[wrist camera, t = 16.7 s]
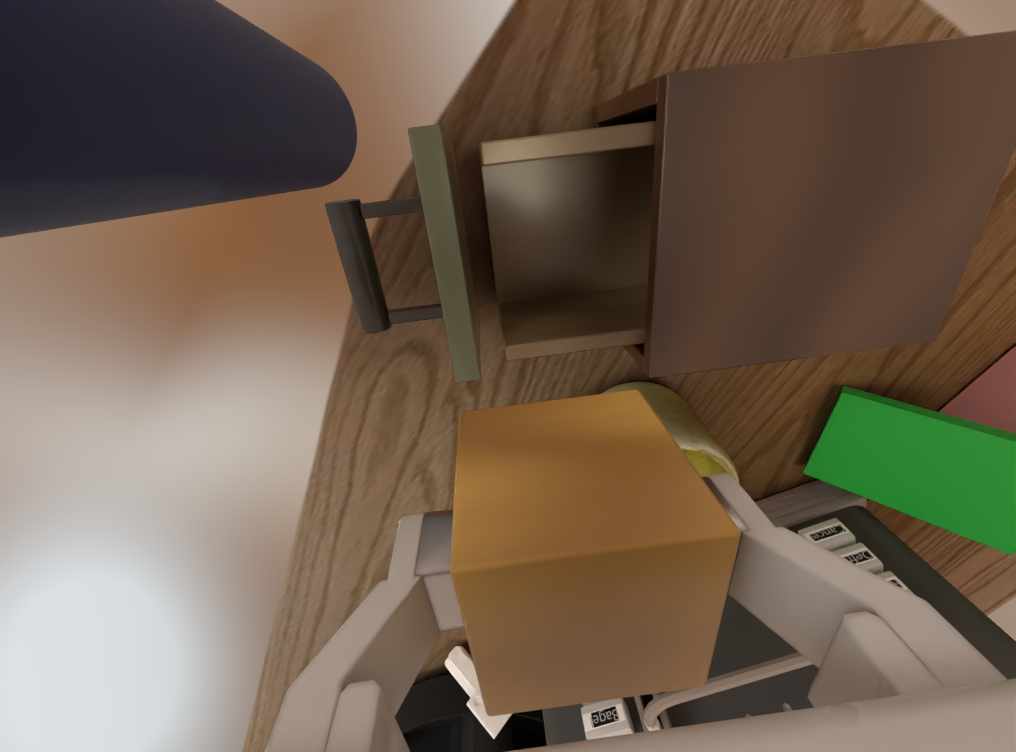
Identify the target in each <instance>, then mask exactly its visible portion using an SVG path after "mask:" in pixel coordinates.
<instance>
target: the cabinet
mask: <svg viewBox="0 0 1016 752" xmlns="http://www.w3.org/2000/svg"><path fill="white" fill-rule="evenodd" d="M650 121H656V135H655V154H654V174H653V193H652V212H651V232H650V251H649V270H648V290H647V309H646V329H645V343H641V344H633V345H626V346H624V348H625V349H626V350H627V351H628V353H629V354H630V355H631V356H632V358H633V359H634V360H635V361H636V363H637V364H638V365H639V366H640V367H641V369H642V370H643V371H644V373H645V374H646V375H647V376H648V378H657V377H664V376H672V375H680V374H687V373H695V372H703V371H710V370H718V369H725V368H733V367H741V366H748V365H756V364H764V363H771V362H779V361H787V360H794V359H802V358H810V357H817V356H825V355H833V354H840V353H848V352H855V351H863V350H871V349H878V348H886V347H894V346H901V345H909V344H917V343H924V342H932V341H936V339H937V337H938V334H939V332H940V329H941V327H942V324H943V322H944V320H945V317H946V315H947V312H948V310H949V307H950V305H951V303H952V300H953V298H954V295H955V293H956V290H957V288H958V286H959V283H960V281H961V278H962V276H963V273H964V271H965V269H966V266H967V264H968V261H969V259H970V256H971V254H972V252H973V249H974V247H975V244H976V242H977V239H978V237H979V235H980V232H981V230H982V227H983V225H984V222H985V220H986V218H987V215H988V213H989V210H990V208H991V205H992V203H993V201H994V198H995V196H996V193H997V191H998V188H999V186H1000V184H1001V181H1002V179H1003V176H1004V174H1005V171H1006V169H1007V167H1008V164H1009V162H1010V159H1011V157H1012V154H1013V152H1014V150H1015V147H1016V30H1015V31H1007V32H999V33H991V34H982V35H974V36H965V37H957V38H949V39H941V40H932V41H924V42H916V43H908V44H899V45H891V46H883V47H875V48H866V49H858V50H850V51H841V52H833V53H825V54H817V55H808V56H800V57H792V58H784V59H775V60H767V61H759V62H750V63H742V64H734V65H726V66H717V67H709V68H701V69H693V70H684V71H676V72H668V73H666V74H664V75H662V76H660V77H657V78H655V79H653V80H651V81H649V82H646V83H644V84H642V85H640V86H638V87H636V88H634V89H631V90H629V91H627V92H625V93H623V94H621V95H619V96H617V97H614V98H612V99H610V100H608V101H606V102H604V103H602V104H600V105H598V106H595V107H594V108H593V127H594V128H601V127H609V126H618V125H626V124H634V123H642V122H650Z"/></svg>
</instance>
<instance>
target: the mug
mask: <svg viewBox="0 0 1016 752" xmlns="http://www.w3.org/2000/svg"><path fill="white" fill-rule="evenodd" d="M628 390H639V392H640V393H641V394H642V396H643V397H644V399H645V400H646V401H647V403H648V404H649V405H650V407H651V408H652V410H653V411H654V412H655V414H656V415H657V417H658V418H659V419H660V421H661V422H662V423H663V425H664V426H665V428H666V429H667V430H668V432H669V433H670V434H671V436H672V437H673V439H674V440H675V441H676V443H677V444H678V446H679V447H680V448H681V450H682V451H683V452H684V454H685V455H686V457H687V458H688V459H689V461H690V462H691V463H692V465H693V466H694V468H695V469H696V470H697V472H698V473H699V475H700V476H706V475H713V474H720V473H729V474H730V475H732V476H733V477H734V479H735V480H736V481H737V482H738V483H739V477H738V472H737V470H736V468H735V466H734V464H733V462H732V460H731V459H730V457H729V456H728V454H727V453H726V451H725V450H724V449H723V447H722V446H721V445H720V444H719V442H718V441H717V440H716V439H715V438H714V436H713V435H712V434H711V433H710V432H709V431H708V429H707V428H706V427H705V426H704V424H703V423H702V422H701V421H700V420H699V418H698V417H697V416H696V415H695V413H694V411H693V410H692V408H691V407H690V405H689V404H688V403H687V402H686V401H685V400H684V399H683V398H682V397H680V396H679V395H678V394H677V393H675V392H674V391H672V390H670V389H669V388H666V387H664V386H662V385H658V384H655V383H651V382H640V381H639V382H630V383H624V384H620V385H617V386H614V387H611V388H609V389H608V390H606V391H605V392H603V393H601V394H605V393H613V392H621V391H628Z"/></svg>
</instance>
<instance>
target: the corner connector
mask: <svg viewBox="0 0 1016 752" xmlns="http://www.w3.org/2000/svg"><path fill="white" fill-rule="evenodd" d="M445 666H446V668H447V669H448V670H449V672H450V673H451V674H452V675H453V677H454V678H455V679H456V680H457V682H458V683H459V684H460V685H461V687H462V688H463V689H464V690H465V692H466V693H467V694H468V695H469V697H470V699H469V701H468V702H467V706H468V707H469V709H470V710H471V711H472V712H473V714H474V715H475V716H476V718H477V719H478V720H479V721H480V723H481V724H482V725H483V726H484V728H485V729H486V730H487V731H488V733H489V734H490V735H491V737H492V738H493V739H495V737H496V736H497V734H498V733H499V731H500V730H501V729H502V727H503V726H504V724H505V723H506V722H507V720H508V719H509V717H510V716H511V715H512V714H505V715H498V716H488V715H487V713H486V710H485V706H484V702H483V698H482V694H481V691H480V687H479V683H478V679H477V675H476V671H475V667H474V663H473V659H472V657H471V656H470V655H469V654H468V652H467V651H466V650H465V649H464V648H463V647H462V646H456V647H454V649H453V650H452V651H451V652H450V653H449V655H448V658H447V659H446V661H445Z"/></svg>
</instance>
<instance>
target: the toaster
mask: <svg viewBox="0 0 1016 752" xmlns="http://www.w3.org/2000/svg"><path fill="white" fill-rule="evenodd" d="M755 503H756V505H757V506H758V507H759V508H760V509H761V511H762V512H763V513H764V514H765V515H766V516H767V518H768V519H769V520H770V521H771V522H772V524H773V525H774V526H775V527H784V528H786V529H788V530H790V531H792V532H794V533H796V534H798V535H800V536H802V537H804V538H805V539H807V540H809V541H811V542H813V543H815V544H817V545H819V546H821V547H823V548H825V549H827V550H829V551H831V552H833V553H834V554H836V555H838V556H840V557H842V558H844V559H846V560H848V561H850V562H852V563H854V564H856V565H858V566H860V567H862V568H863V569H865V570H867V571H869V572H871V573H873V574H875V575H877V576H879V577H881V578H883V579H885V580H887V581H889V582H890V583H892V584H894V585H896V586H898V587H900V588H902V589H904V590H906V591H908V592H910V593H912V594H914V595H916V596H918V597H919V598H921V599H923V600H925V601H927V602H928V603H929V604H930V605H931V606H932V607H933V608H934V609H935V610H936V611H937V612H938V613H939V614H940V615H941V616H942V617H943V618H944V619H945V620H946V621H947V622H949V623H950V624H951V625H952V626H953V627H954V628H955V629H956V630H957V631H958V632H959V633H960V634H961V635H962V636H963V637H964V638H965V639H966V640H967V641H968V642H969V643H970V644H971V645H972V646H973V647H974V648H975V649H976V650H977V651H978V652H979V653H981V654H982V655H983V656H984V657H985V658H986V659H987V660H988V661H989V662H990V663H991V664H992V665H993V666H994V667H995V668H996V669H997V670H998V671H999V672H1000V673H1001V674H1002V675H1003V676H1004V677H1005V678H1006V679H1007V680H1009V679H1016V641H1014V640H1013V639H1012V638H1011V637H1010V636H1009V635H1008V634H1006V633H1005V632H1004V631H1003V630H1002V629H1001V628H1000V627H998V626H997V625H996V624H995V623H994V622H993V621H992V620H991V619H990V618H988V617H987V616H986V615H985V614H984V613H983V612H982V611H981V610H979V609H978V608H977V607H976V606H975V605H974V604H973V603H972V602H970V601H969V600H968V599H967V598H966V597H965V596H964V595H962V594H961V593H960V592H959V591H958V590H957V589H956V588H955V587H953V586H952V585H951V584H950V583H949V582H948V581H947V580H946V579H944V578H943V577H942V576H941V575H940V574H939V573H938V572H936V571H935V570H934V569H933V568H932V567H931V566H930V565H929V564H927V563H926V562H925V561H924V560H923V559H922V558H921V557H920V556H918V555H917V554H916V553H915V552H914V551H913V550H912V549H910V548H909V547H908V546H907V545H906V544H905V543H904V542H903V541H901V540H900V539H899V538H898V537H897V536H896V535H895V534H894V533H892V532H891V531H890V530H889V529H888V528H887V527H886V526H885V525H883V524H882V523H881V522H880V521H879V520H878V519H877V518H875V517H874V516H873V515H872V514H871V513H870V512H869V511H868V510H867V499H866V498H865V497H862V496H860V495H857V494H855V493H852V492H850V491H847V490H845V489H842V488H840V487H837V486H835V485H832V484H829V483H827V482H824V481H822V480H819V479H818V480H816V481H813V482H810V483H807V484H804V485H801V486H799V487H796V488H793V489H790V490H787V491H784V492H782V493H779V494H776V495H773V496H770V497H767V498H765V499H762V500H759V501H756V502H755ZM818 669H819V668H818V667H817V666H815V665H814V664H813V663H812V662H810V661H809V660H808V659H807V658H806V657H804V656H803V655H802V654H801V653H799V652H798V651H797V650H796V649H795V648H793V647H792V646H791V645H790V644H788V643H787V642H786V641H785V640H784V639H782V638H781V637H780V636H779V635H777V634H776V633H775V632H774V631H773V630H771V629H770V628H769V627H768V626H767V625H765V624H764V623H763V622H762V621H760V620H759V619H758V618H757V617H756V616H754V615H753V614H752V613H751V612H749V611H748V610H747V609H746V608H745V607H743V606H742V605H741V604H740V603H738V602H737V601H736V600H735V599H734V598H732V597H731V596H730V595H729V592H727V597H726V601H725V605H724V609H723V614H722V618H721V622H720V627H719V631H718V635H717V639H716V644H715V648H714V652H713V657H712V661H711V665H710V670H709V674H708V678H707V682H706V685H705V686H703V687H696V688H689V689H682V690H675V691H668V692H661V693H654V694H647V695H640V696H633V697H625V698H618V699H611V700H604V701H597V702H590V703H583V704H576V705H569V706H562V707H555V708H547V709H542V711H543V719H544V727H545V735H546V743H547V746H549V745H556V744H563V743H570V742H577V741H584V740H591V739H598V738H605V737H612V736H619V735H626V734H633V733H640V732H647V731H654V730H661V729H668V728H675V727H682V726H689V725H696V724H703V723H710V722H716V721H723V720H730V719H737V718H744V717H751V716H758V715H765V714H772V713H779V712H786V711H793V710H800V709H807V708H814V707H813V705H812V704H811V702H810V700H809V699H808V693H809V690H810V687H811V685H812V683H813V680H814V678H815V676H816V674H817V672H818Z"/></svg>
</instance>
